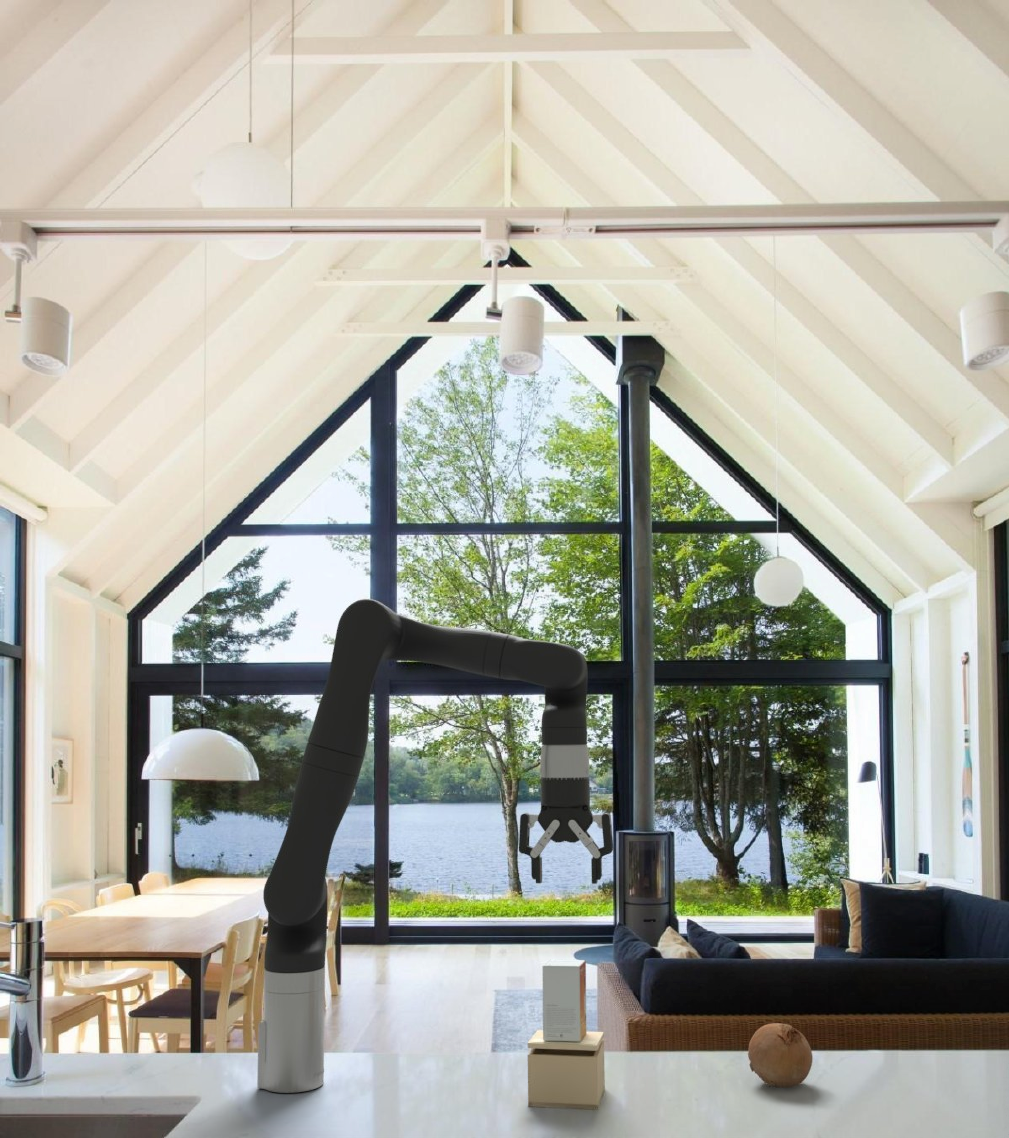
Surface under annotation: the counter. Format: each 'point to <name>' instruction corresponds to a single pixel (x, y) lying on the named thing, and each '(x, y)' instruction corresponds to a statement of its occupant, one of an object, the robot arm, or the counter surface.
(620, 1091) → the counter surface
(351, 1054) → the counter surface
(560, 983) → the small box
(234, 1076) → the counter surface
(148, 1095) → the counter surface
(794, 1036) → the onion
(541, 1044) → the lid
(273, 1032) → the robot arm
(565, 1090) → the carton
